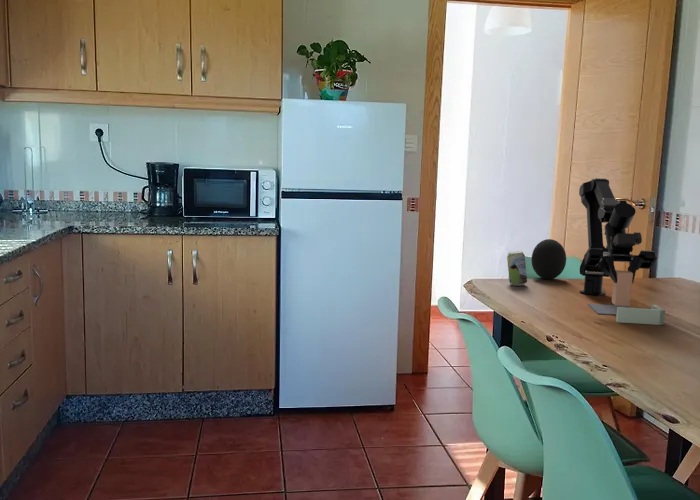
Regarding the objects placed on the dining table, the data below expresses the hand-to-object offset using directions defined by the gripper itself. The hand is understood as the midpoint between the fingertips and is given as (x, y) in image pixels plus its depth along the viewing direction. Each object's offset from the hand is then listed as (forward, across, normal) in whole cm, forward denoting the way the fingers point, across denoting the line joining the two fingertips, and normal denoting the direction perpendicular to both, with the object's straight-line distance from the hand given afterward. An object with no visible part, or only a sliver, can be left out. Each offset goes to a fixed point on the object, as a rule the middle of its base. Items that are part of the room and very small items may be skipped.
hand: (624, 282), depth 175 cm
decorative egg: (-30, -11, +46) cm, 56 cm away
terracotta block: (+4, 0, +6) cm, 7 cm away
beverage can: (-20, -24, +35) cm, 47 cm away
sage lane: (+10, +3, +4) cm, 11 cm away
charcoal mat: (+2, 0, +12) cm, 12 cm away
